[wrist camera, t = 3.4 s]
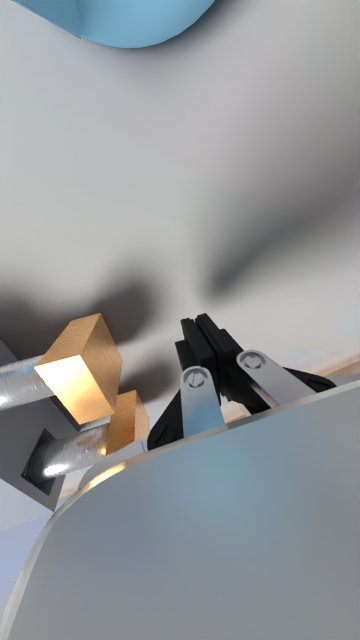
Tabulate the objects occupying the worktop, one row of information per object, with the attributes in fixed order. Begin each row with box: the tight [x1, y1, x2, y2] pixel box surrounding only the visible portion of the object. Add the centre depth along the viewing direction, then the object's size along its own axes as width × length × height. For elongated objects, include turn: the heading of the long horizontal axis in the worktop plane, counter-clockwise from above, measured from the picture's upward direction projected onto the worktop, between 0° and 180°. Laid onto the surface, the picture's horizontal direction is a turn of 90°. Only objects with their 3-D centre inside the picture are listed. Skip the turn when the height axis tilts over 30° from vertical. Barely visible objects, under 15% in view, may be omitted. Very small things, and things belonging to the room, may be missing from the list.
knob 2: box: [21, 390, 150, 485], centre depth 14 cm, size 12×4×5 cm, turn 101°
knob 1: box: [0, 313, 122, 424], centre depth 11 cm, size 12×4×5 cm, turn 101°
